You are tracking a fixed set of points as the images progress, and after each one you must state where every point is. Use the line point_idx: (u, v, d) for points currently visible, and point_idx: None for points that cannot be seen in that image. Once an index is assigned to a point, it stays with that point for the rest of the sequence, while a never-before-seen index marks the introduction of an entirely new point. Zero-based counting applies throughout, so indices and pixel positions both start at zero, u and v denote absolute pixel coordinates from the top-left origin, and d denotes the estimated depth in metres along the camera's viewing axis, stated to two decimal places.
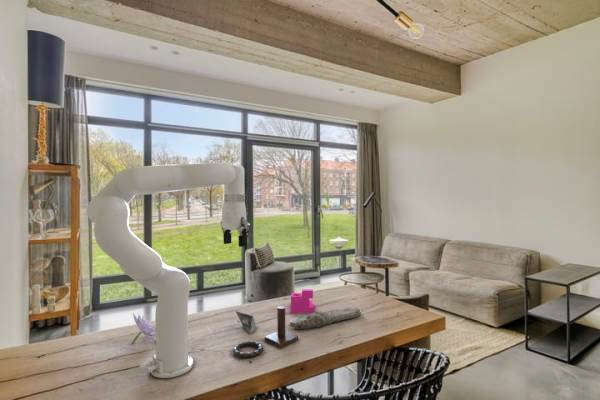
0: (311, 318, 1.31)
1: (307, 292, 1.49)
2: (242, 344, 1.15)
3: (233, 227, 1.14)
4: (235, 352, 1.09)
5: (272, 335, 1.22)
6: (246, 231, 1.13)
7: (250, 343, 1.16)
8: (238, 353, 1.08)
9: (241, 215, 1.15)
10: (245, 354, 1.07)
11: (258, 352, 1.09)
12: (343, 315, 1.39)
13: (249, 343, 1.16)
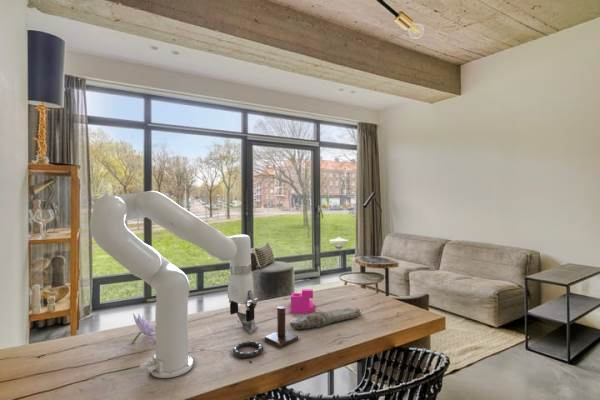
0: (311, 318, 1.31)
1: (307, 292, 1.49)
2: (242, 344, 1.15)
3: (240, 301, 1.11)
4: (235, 352, 1.09)
5: (272, 335, 1.22)
6: (254, 306, 1.10)
7: (250, 343, 1.16)
8: (238, 353, 1.08)
9: (248, 289, 1.11)
10: (245, 354, 1.07)
11: (258, 352, 1.09)
12: (343, 315, 1.38)
13: (249, 343, 1.16)
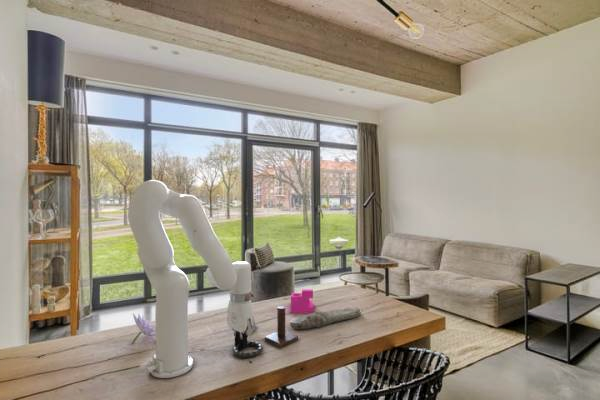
0: (311, 318, 1.31)
1: (307, 292, 1.48)
2: None
3: (239, 329, 1.11)
4: (235, 352, 1.09)
5: (272, 335, 1.22)
6: None
7: (250, 343, 1.16)
8: (238, 353, 1.08)
9: (248, 317, 1.11)
10: (245, 354, 1.07)
11: (258, 352, 1.09)
12: (344, 315, 1.38)
13: (249, 343, 1.16)
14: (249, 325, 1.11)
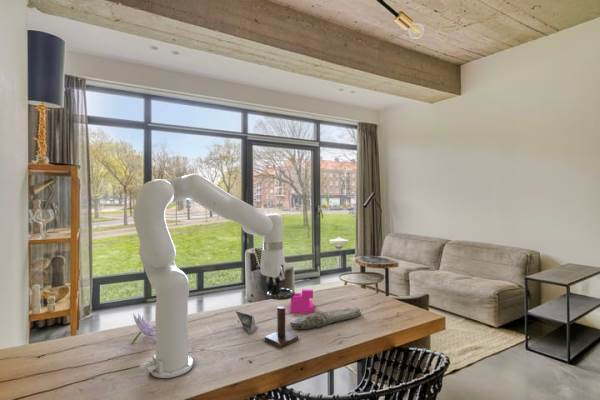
0: (311, 318, 1.31)
1: (307, 292, 1.48)
2: None
3: (273, 275, 1.19)
4: (270, 295, 1.17)
5: (272, 335, 1.22)
6: (279, 281, 1.21)
7: (282, 289, 1.24)
8: (273, 295, 1.16)
9: (281, 263, 1.19)
10: (279, 296, 1.16)
11: (291, 295, 1.17)
12: (344, 315, 1.38)
13: (281, 289, 1.24)
14: (282, 271, 1.20)
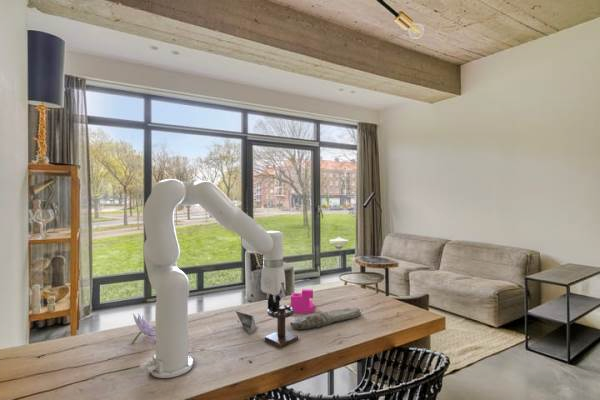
0: (311, 318, 1.31)
1: (307, 292, 1.49)
2: None
3: (273, 292, 1.19)
4: (270, 313, 1.18)
5: (272, 335, 1.22)
6: (280, 298, 1.21)
7: None
8: (273, 314, 1.16)
9: (281, 281, 1.20)
10: (279, 314, 1.16)
11: (291, 313, 1.18)
12: (344, 315, 1.38)
13: None
14: (282, 289, 1.20)
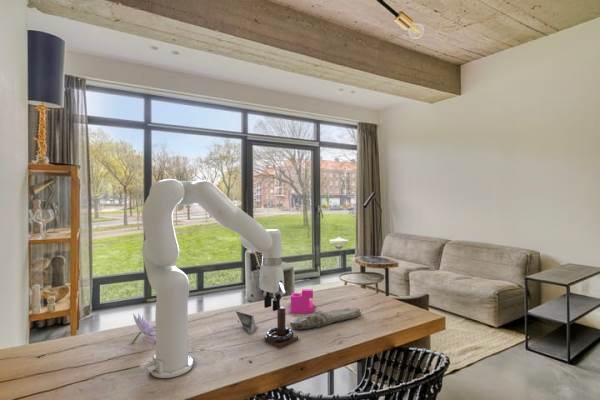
0: (311, 318, 1.31)
1: (307, 292, 1.49)
2: (274, 329, 1.24)
3: (271, 290, 1.20)
4: (268, 336, 1.18)
5: None
6: (280, 296, 1.21)
7: None
8: (272, 337, 1.17)
9: (280, 279, 1.20)
10: (278, 337, 1.16)
11: (290, 336, 1.18)
12: (344, 315, 1.38)
13: None
14: None
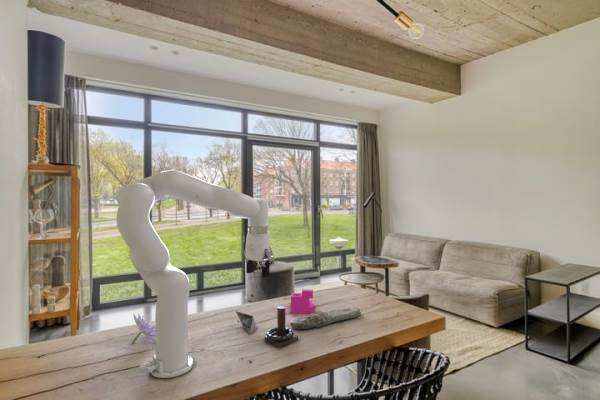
0: (311, 318, 1.31)
1: (307, 292, 1.49)
2: (274, 329, 1.24)
3: (256, 258, 1.19)
4: (268, 336, 1.18)
5: None
6: (269, 263, 1.18)
7: None
8: (272, 337, 1.17)
9: (265, 247, 1.19)
10: (278, 337, 1.16)
11: (290, 336, 1.18)
12: (344, 315, 1.38)
13: None
14: (266, 255, 1.19)
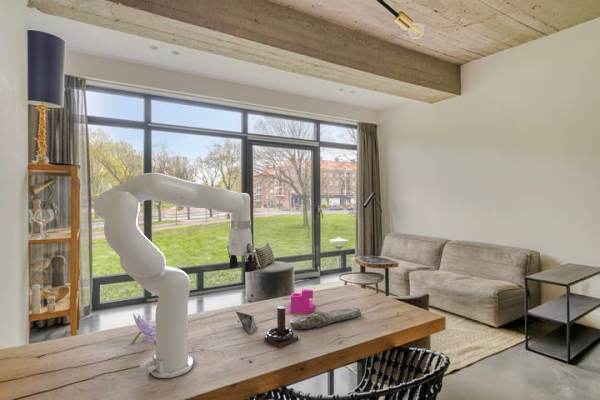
0: (312, 318, 1.31)
1: (307, 292, 1.48)
2: (274, 329, 1.24)
3: (239, 253, 1.19)
4: (268, 336, 1.18)
5: None
6: (252, 257, 1.18)
7: None
8: (272, 337, 1.17)
9: (247, 242, 1.19)
10: (278, 337, 1.16)
11: (290, 336, 1.18)
12: (344, 315, 1.38)
13: None
14: (248, 250, 1.19)
